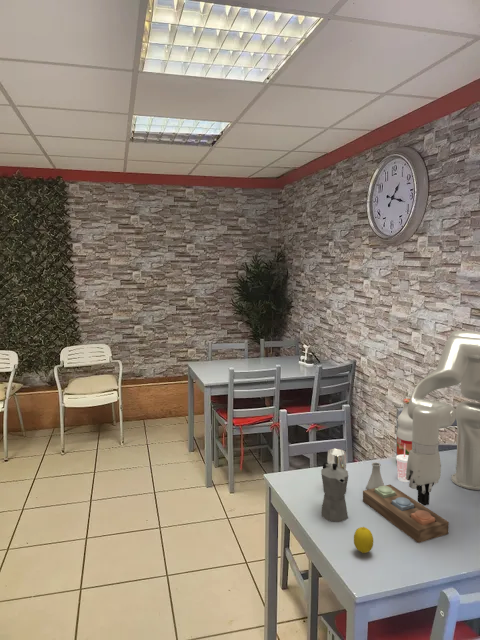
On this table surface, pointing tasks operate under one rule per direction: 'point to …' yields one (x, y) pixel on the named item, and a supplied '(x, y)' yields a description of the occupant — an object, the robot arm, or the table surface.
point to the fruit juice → (404, 431)
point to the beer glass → (337, 458)
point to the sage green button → (385, 491)
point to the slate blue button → (402, 504)
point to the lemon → (363, 540)
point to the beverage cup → (402, 466)
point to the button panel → (406, 516)
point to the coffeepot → (334, 492)
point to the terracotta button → (423, 517)
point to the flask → (375, 477)
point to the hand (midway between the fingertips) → (423, 503)
